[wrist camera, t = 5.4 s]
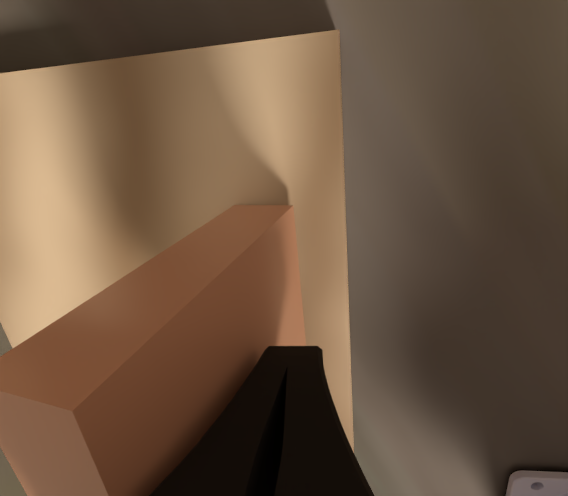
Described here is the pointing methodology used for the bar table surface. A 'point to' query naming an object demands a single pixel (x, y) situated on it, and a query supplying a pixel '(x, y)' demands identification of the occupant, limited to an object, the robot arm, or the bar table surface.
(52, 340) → the peach rectangular block
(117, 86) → the birch board
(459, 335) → the bar table surface
